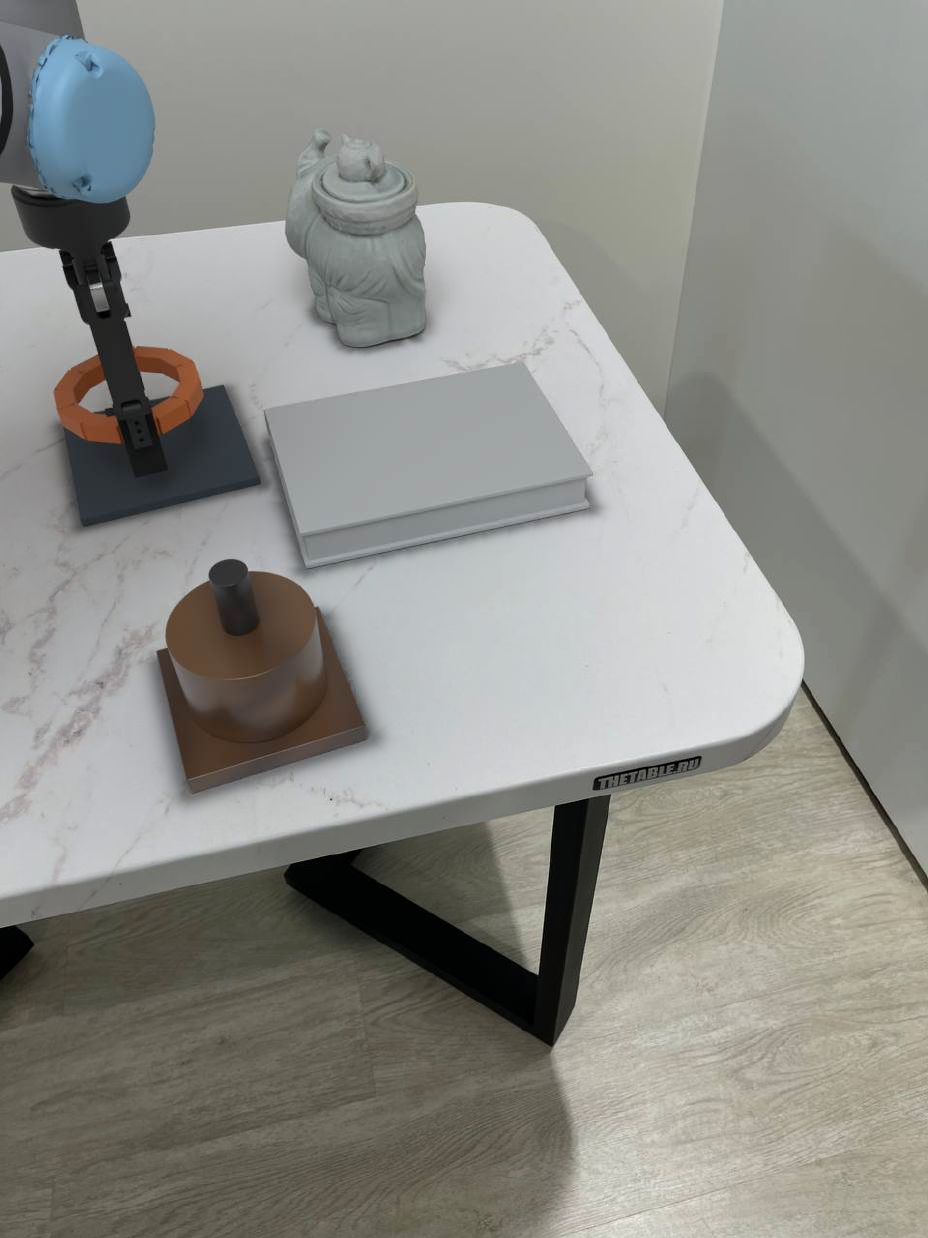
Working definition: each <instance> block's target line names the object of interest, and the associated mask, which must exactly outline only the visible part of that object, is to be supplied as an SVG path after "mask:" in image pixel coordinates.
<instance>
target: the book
mask: <svg viewBox="0 0 928 1238" xmlns="http://www.w3.org/2000/svg"><path fill="white" fill-rule="evenodd" d="M263 415H264V421H265V422H264V423H265V426H266V431H267V435H268V439H269V444H270V447H271V451H272V455H273V458H274V463H275V465H276V469H277V472H278V475H279V479H280V483H281V486H282V489H283V493H284V496H285V501H286V503H287V507H288V511H289V515H290V517H291V521H292V525H293V528H294V531H295V535H296V540H297V542H298V545H299V549H300V553H301V556H302V559H303V563H304V566H305V567H304V568H305V569H306V570H307V569H312V568H318V567H321V566H327V565H331V564H336V563H340V562H345V561H350V560H354V559H355V560H356V559H358V558H359V559H360V558H364V557H368V556H374V555H378V554H382V553H387V552H391V551H396V550H401V549H406V548H410V547H416V546H421V545H424V544H429V543H433V542H438V541H443V540H448V539H453V538H456V537H457V538H458V537H462V536H467V535H471V534H477V533H480V532H485V531H490V530H494V529H499V528H504V527H509V526H513V525H517V524H523V523H527V522H531V521H536V520H541V519H546V518H551V517H555V516H560V515H565V514H569V513H574V512H579V511H584V510H588V509H590V502H589V500H588V499H587V497H586V496H585V495H586V494H585V493H586V484H587V483H586V482H587V478H590V477H593V475H594V472H593V471H592V469H591V467H590V465H589V463H588V461H586V459H585V457H584V456H583V454H582V452H581V451H580V450H579V447H578V446H577V445H576V443H575V441H574V440H573V438H572V437H571V435H570V433H569V432H568V430H567V429H566V427H565V426H564V424H563V423H562V420H561V419H560V418H559V416H558V415H557V413H556V411H555V409H554V408H553V406H552V405H551V403H550V402H549V400H548V399H547V397H546V395H545V394H544V392H543V390H542V389H541V387H540V386H539V384H538V383H537V381H536V380H535V377H534V376H533V375H532V373H531V372H530V370H529V368H528V367H527V365H526V363H525V362H524V361H521V362H515V363H509V364H503V365H498V366H493V367H487V368H482V369H476V370H470V371H465V372H459V373H455V374H448V375H443V376H439V377H432V378H427V379H420V380H416V381H410V382H405V383H400V384H394V385H389V386H383V387H378V388H372V389H367V390H361V391H355V392H349V393H345V394H344V393H343V394H339V395H333V396H329V397H328V396H327V397H321V398H317V399H316V398H315V399H312V400H307V401H301V402H295V403H290V404H289V403H288V404H285V405H284V404H283V405H279V406H272V407H269V408H268V407H267V408H264V409H263Z"/></svg>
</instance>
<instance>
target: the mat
mask: <svg viewBox="0 0 928 1238" xmlns="http://www.w3.org/2000/svg"><path fill="white" fill-rule="evenodd" d="M202 389H203V393H204V394H203V396H204V397H203V398H202V400H201V402H200V404H199V405H198V407H197V409H196V411H195V412H194V414H193V416H190V418H189V419H188V420H186V421H184V422H183V423H181V424H179V425H178V426H176V427H174V428H173V429H171V430H170V431H168V432H166V433H165V434H161V433H160V436H159V438H160V442H161V445H162V449H163V452H164V456H165V459H166V463H167V466H168V470H166V471H162V472H158V473H154V474H149V475H145V476H141V477H136V478H135V475H134V472H133V469H132V466H131V463H130V460H129V456H128V453H127V450H126V447H125V444H124V442H122V443H121V444H118V443H107V442H96V441H88V440H87V439H86V440H85V439H83V438H81V437H80V436H78V435H76V434H75V433H73V432H71V431H70V430H68V429H67V428H65V427H64V426H63V425H62V427H63V433H64V438H65V443H66V449H67V454H68V461H69V463H70V464H69V465H70V470H71V476H72V481H73V487H74V492H75V497H76V503H77V508H78V513H79V519H80V522H81V524H82V526H83V527H87V526H91V525H95V524H100V523H103V522H108V521H112V520H117V519H120V518H124V517H128V516H133V515H136V514H141V513H145V512H149V511H150V512H151V511H154V510H158V509H162V508H166V507H171V506H174V505H178V504H183V503H187V502H191V501H195V500H198V499H203V498H208V497H211V496H215V495H220V494H223V493H227V492H232V491H235V490H236V491H237V490H239V489H240V490H241V489H244V488H249V487H252V486H256V485H261V483H262V482H261V477H260V475H259V472H258V469H257V466H256V464H255V462H254V459H253V456H252V454H251V451H250V449H249V446H248V443H247V441H246V438H245V436H244V432H243V431H242V428H241V426H240V422H239V419H238V418H237V415H236V413H235V409H234V408H233V404H232V402H231V399H230V396H229V394H228V392H227V388H226V387H225V384H220V385H215V386H210V387H207V388H202ZM171 396H172V395H168V396H164V397H159V398H154V399H149V402H150V405H151V408H153V407H154V406H156V405H158V404H160V403H161V402H163V401H165V400H166V399H168V398H170V397H171ZM93 413H94V414H105V415H106V413H105V409H104V410H99V411H95V412H93Z"/></svg>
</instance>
